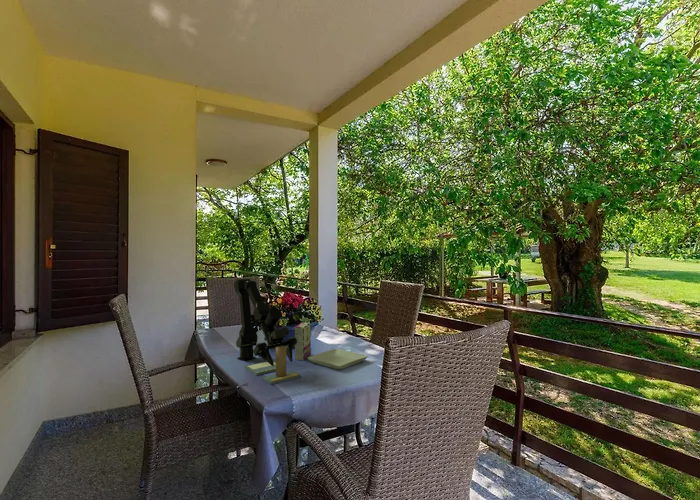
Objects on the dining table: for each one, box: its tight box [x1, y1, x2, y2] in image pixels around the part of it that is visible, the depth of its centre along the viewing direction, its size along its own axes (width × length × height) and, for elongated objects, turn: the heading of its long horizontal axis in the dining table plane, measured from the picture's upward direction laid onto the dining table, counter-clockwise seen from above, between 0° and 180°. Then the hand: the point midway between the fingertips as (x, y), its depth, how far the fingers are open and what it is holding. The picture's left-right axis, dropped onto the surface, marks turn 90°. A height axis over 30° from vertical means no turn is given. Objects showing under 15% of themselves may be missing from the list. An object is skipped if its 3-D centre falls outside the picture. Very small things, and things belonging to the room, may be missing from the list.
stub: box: [262, 346, 302, 385], centre depth 160 cm, size 7×14×13 cm, turn 129°
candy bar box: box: [294, 322, 312, 362], centre depth 190 cm, size 11×5×16 cm, turn 168°
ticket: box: [244, 360, 276, 376], centre depth 173 cm, size 12×14×1 cm
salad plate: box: [307, 348, 368, 370], centre depth 182 cm, size 21×21×3 cm
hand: (282, 363), depth 160 cm, fingers open, 8 cm apart
